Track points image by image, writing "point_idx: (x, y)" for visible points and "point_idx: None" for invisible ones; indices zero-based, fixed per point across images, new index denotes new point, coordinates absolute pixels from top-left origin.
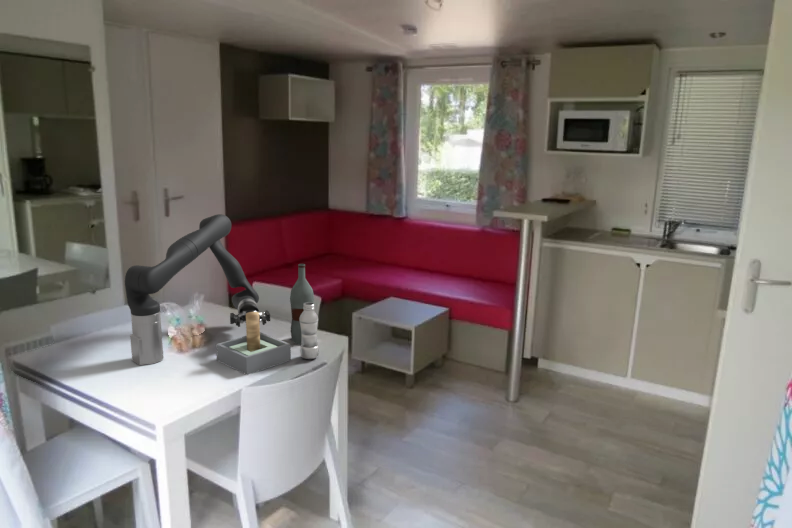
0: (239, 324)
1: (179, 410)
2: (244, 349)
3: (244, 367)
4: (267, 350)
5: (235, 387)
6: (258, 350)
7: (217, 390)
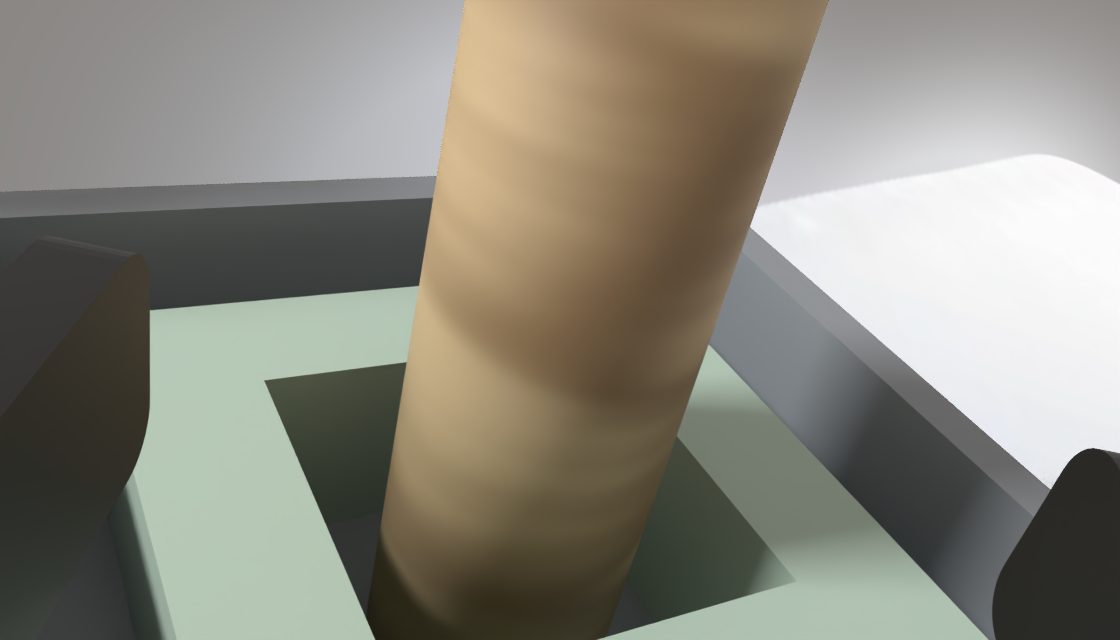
0: (1050, 537)
1: (1032, 190)
2: (694, 442)
3: None
4: (381, 188)
5: None
6: None
7: (865, 256)
